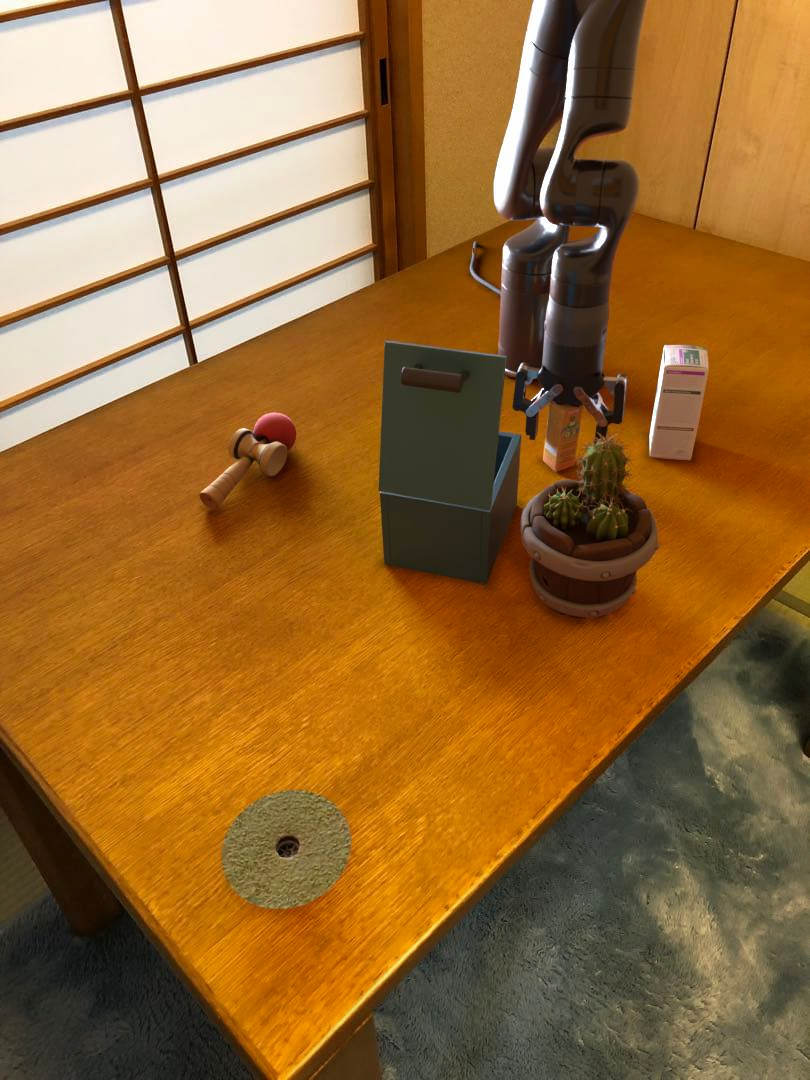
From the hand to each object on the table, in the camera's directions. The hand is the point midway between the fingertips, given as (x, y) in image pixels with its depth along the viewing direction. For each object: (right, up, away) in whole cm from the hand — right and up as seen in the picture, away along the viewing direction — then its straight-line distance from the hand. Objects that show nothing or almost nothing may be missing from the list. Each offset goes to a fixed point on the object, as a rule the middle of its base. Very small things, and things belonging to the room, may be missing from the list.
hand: (564, 441), depth 118 cm
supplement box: (0, -3, +3) cm, 4 cm away
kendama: (-42, -4, +3) cm, 43 cm away
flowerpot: (-1, -19, -16) cm, 25 cm away
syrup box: (+15, -1, +5) cm, 16 cm away
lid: (-18, -1, -24) cm, 30 cm away
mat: (-32, -41, -40) cm, 66 cm away
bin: (-15, -12, -8) cm, 21 cm away
